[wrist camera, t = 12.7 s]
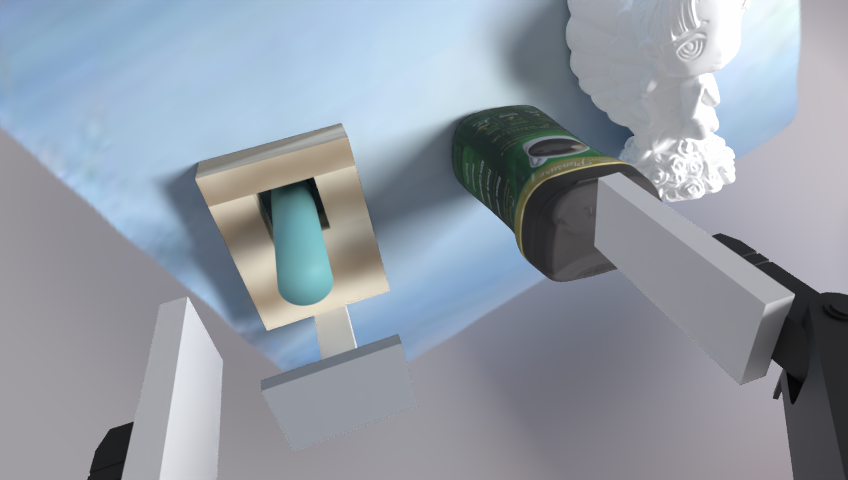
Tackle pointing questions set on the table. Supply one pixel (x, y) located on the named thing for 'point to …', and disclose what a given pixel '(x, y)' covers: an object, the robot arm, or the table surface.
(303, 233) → the peg
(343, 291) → the socket block
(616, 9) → the cherub figurine
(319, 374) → the light grey angular piece
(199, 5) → the table surface
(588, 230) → the coffee jar
